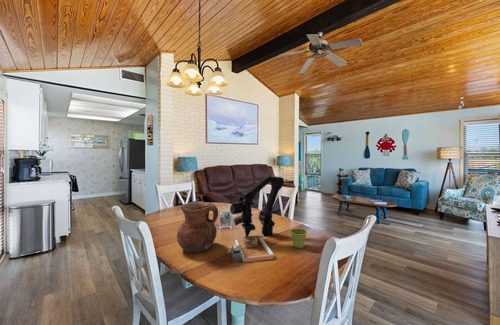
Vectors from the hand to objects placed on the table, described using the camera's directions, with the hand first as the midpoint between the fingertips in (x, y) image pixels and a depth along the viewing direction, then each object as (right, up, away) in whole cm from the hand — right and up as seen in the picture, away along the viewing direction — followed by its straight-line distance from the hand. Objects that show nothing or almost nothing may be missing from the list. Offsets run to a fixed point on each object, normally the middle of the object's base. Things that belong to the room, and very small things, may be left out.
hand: (246, 236), depth 135 cm
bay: (+4, -2, -15) cm, 16 cm away
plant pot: (+30, -2, -10) cm, 32 cm away
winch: (-6, -3, -26) cm, 27 cm away
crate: (+2, -2, -9) cm, 9 cm away
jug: (-28, -2, -12) cm, 31 cm away
